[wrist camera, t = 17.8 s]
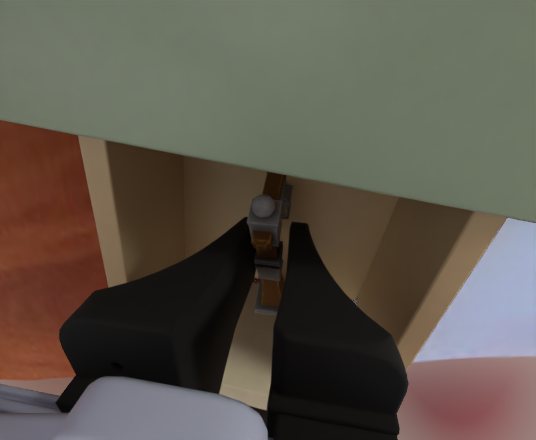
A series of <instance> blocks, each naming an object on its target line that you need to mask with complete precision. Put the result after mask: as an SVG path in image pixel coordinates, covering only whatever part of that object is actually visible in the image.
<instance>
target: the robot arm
mask: <svg viewBox="0 0 536 440" xmlns="http://www.w3.org/2000/svg"><path fill="white" fill-rule="evenodd" d="M247 219H248V217H244V218H243V219H241V220H240V221H239V222H238V223H236V224H235V225H234V226H233V227H232V228H230V229H229V230H228V231H227V232H225V233H224V234H223V235H221V236H220V237H219V238H218V239H216V240H215V241H213V242H212V243H210V244H209V245H208V246H206V247H205V248H203V249H202V250H200V251H198V252H197V253H195V254H193V255H192V256H190V257H188V258H186V259H184V260H182V261H180V262H178V263H176V264H174V265H172V266H169V267H167V268H165V269H163V270H161V271H158V272H156V273H153V274H151V275H148V276H145V277H142V278H139V279H136V280H133V281H130V282H127V283H124V284H120V285H116V286H112V287H109V288H105V289H101V290H97V291H94V292H93V293H92V294H91V295H90V296H89V297H88V298H87V299H86V300H85V301H84V303H83V304H82V305H81V306H80V307H79V308H78V309H77V310H76V311H75V312H74V313H73V314H72V315H71V316H70V317H69V319H68V320H67V321H66V322H65V323H64V324H63V325H62V327H61V329H60V332H59V339H60V343H61V346H62V349H63V350H64V352H65V354H66V356H67V358H68V360H69V362H70V364H71V366H72V368H73V370H74V371H75V373H76V376H75V377H74V378H73V380H72V381H71V383H70V384H69V385H68V386H67V388H66V389H65V390H64V392H63V393H62V394H61V396H58V395H53V394H47V393H43V392H38V391H33V390H28V389H22V388H18V387H12V386H8V385H3V384H0V440H398V439H397V435H398V434H399V424H398V419H397V412H398V410H399V408H400V405H401V403H402V401H403V399H404V397H405V394H406V392H407V388H408V380H407V374H406V370H405V366H404V363H403V360H402V358H401V355H400V353H399V350H398V348H397V345H396V343H395V341H394V339H393V337H392V335H391V334H390V333H389V332H388V331H386V330H385V329H384V328H382V327H381V326H380V325H379V324H377V323H376V322H375V321H374V320H372V319H371V318H370V317H369V316H367V315H366V314H365V313H364V312H363V311H362V310H361V309H360V308H359V307H358V306H357V305H356V304H355V303H354V302H353V301H352V300H351V299H350V298H349V297H348V296H347V295H346V294H345V293H344V291H343V290H342V289H341V288H340V286H339V285H338V284H337V283H336V281H335V280H334V278H333V277H332V276H331V274H330V273H329V271H328V270H327V268H326V266H325V265H324V263H323V261H322V259H321V257H320V255H319V253H318V251H317V249H316V247H315V245H314V242H313V240H312V237H311V234H310V230H309V225H308V224H307V223H301V222H291V225H290V229H289V243H288V258H287V272H286V278H285V283H284V288H283V292H282V296H281V300H280V305H279V308H278V312H277V316H276V320H275V323H274V326H273V347H272V369H271V384H270V390H269V397H268V403H267V428H266V426H265V424H264V422H263V419H262V417H261V416H260V414H259V413H258V412H256V411H255V410H254V409H252V408H251V407H249V406H248V405H247V404H245V403H244V402H242V401H239V400H236V399H233V398H230V397H227V396H224V395H221V394H219V392H220V388H221V384H222V380H223V375H224V371H225V367H226V363H227V359H228V355H229V351H230V347H231V344H232V340H233V336H234V332H235V329H236V326H237V323H238V320H239V317H240V314H241V312H242V309H243V307H244V304H245V301H246V299H247V296H248V293H249V291H250V288H251V285H252V283H253V280H254V277H255V273H256V269H257V268H256V267H255V263H254V257H255V253H256V249H255V248H254V247H253V244H251V234H250V229H249V226H248V224H247Z"/></svg>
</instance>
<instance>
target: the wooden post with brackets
mask: <svg viewBox="0 0 536 440" xmlns="http://www.w3.org/2000/svg"><path fill="white" fill-rule="evenodd" d="M286 178H287V175H283V174H278V173H273V172H268V171H267V175H266V180H265V184H264V188H263V192H262V195H258V196H257V197H255V198H252V202H251V206H250V211H249V215H248V219H247V224H248V226H249V229H250V234H251V244H253V247H254V248H255V249H256V253H255V257H254V263H255V267H256V268H257V271H258V278H259V279H260V284H259V289H258V293H257V298H256V303H255V308H254V312H255V313H261V314H267V315H274V316H277V312H278V308H279V305H280V300H281V296H282V292H283V288H284V283H285V280H284V278H283V275H282V268H283V262H284V261H283V259H282V254H283V245H284V244H283V241H280V235H281V229H282V221H281V220H283V219H289V213H290V208H291V202H290V201H291V195H292V189H293V185H286V181H287V180H286Z"/></svg>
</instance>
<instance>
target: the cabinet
mask: <svg viewBox="0 0 536 440" xmlns="http://www.w3.org/2000/svg"><path fill="white" fill-rule="evenodd" d="M0 120H2V121H7V122H13V123H18V124H23V125H28V126H34V127H39V128H44V129H49V130H54V131H60V132H65V133H70V134H75V135H80V136H86V137H91V138H96V139H101V140H106V141H112V142H117V143H122V144H127V145H132V146H138V147H143V148H148V149H153V150H158V151H164V152H169V153H174V154H179V155H184V156H190V157H195V158H200V159H205V160H210V161H216V162H221V163H226V164H231V165H236V166H242V167H247V168H252V169H257V170H262V171H268V172H273V173H278V174H283V175H288V176H294V177H299V178H304V179H309V180H314V181H320V182H325V183H330V184H335V185H340V186H346V187H351V188H356V189H361V190H366V191H372V192H377V193H382V194H387V195H392V196H398V197H403V198H408V199H413V200H418V201H424V202H429V203H434V204H439V205H444V206H450V207H455V208H460V209H465V210H470V211H476V212H481V213H486V214H491V215H496V216H502V217H507V218H512V219H517V220H522V221H528V222H533V223H536V0H0Z"/></svg>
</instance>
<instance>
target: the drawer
mask: <svg viewBox="0 0 536 440" xmlns="http://www.w3.org/2000/svg"><path fill="white" fill-rule="evenodd" d="M78 139H79V144H80V149H81V154H82V159H83V164H84V169H85V174H86V179H87V184H88V188H89V193H90V198H91V203H92V208H93V213H94V218H95V223H96V228H97V233H98V238H99V243H100V248H101V252H102V257H103V262H104V267H105V272H106V277H107V282H108V287H112V286H116V285H120V284H124V283H127V282H130V281H133V280H136V279H139V278H142V277H145V276H148V275H151V274H153V273H156V272H158V271H161V270H163V269H165V268H167V267H169V266H172V265H174V264H176V263H178V262H180V261H182V260H184V259H186V258H188V257H190V256H192V255H193V254H195V253H197V252H198V251H200V250H202V249H203V248H205V247H206V246H208V245H209V244H210V243H212V242H213V241H215V240H216V239H218V238H219V237H220V236H221V235H223V234H224V233H225V232H227V231H228V230H229V229H230V228H232V227H233V226H234V225H235V224H236V223H238V222H239V221H240V220H241V219H243V218H244V217H248V215H249V211H250V206H251V202H252V198H255V197H257V196H258V195H262V192H263V188H264V184H265V180H266V175H267V171H262V170H257V169H252V168H247V167H242V166H236V165H231V164H226V163H221V162H216V161H210V160H205V159H200V158H195V157H190V156H184V155H179V154H174V153H169V152H164V151H158V150H153V149H148V148H143V147H138V146H132V145H127V144H122V143H117V142H112V141H106V140H101V139H96V138H91V137H86V136H80V135H78ZM286 180H287V181H286V185H293V189H292V195H291V201H290V202H291V208H290V213H289V219H283V220H281V221H282V229H281V235H280V241H283V244H284V245H283V254H282V259H283V261H284V262H283V268H282V275H283V278H284V280H285V278H286V272H287V258H288V243H289V229H290V225H291V222H301V223H307V224H308V225H309V230H310V234H311V237H312V240H313V242H314V245H315V247H316V249H317V251H318V253H319V255H320V257H321V259H322V261H323V263H324V265H325V266H326V268H327V270H328V271H329V273H330V274H331V276H332V277H333V278H334V280H335V281H336V283H337V284H338V285H339V286H340V288H341V289H342V290H343V291H344V293H345V294H346V295H347V296H348V297H349V298H350V299H354V300H356V301H357V306H358V307H359V308H360V309H361V310H362V311H363V312H364V313H365V314H366V315H367V316H369V317H370V318H371V319H372V320H374V321H375V322H376V323H377V324H379V325H380V326H381V327H382V328H384V329H385V330H386V331H388V332H389V333H390V334H391V335H392V337H393V339H394V341H395V343H396V345H397V348H398V350H399V353H400V355H401V358H402V360H403V363H404V366H405V370H406V371H407V369H408V368H409V366H410V365H411V363H412V362H413V360H414V359H415V357H416V356H417V354H418V353H419V351H420V350H421V348H422V347H423V345H424V344H425V342H426V341H427V339H428V338H429V336H430V334H431V333H432V331H433V330H434V328H435V327H436V325H437V324H438V322H439V321H440V319H441V318H442V316H443V315H444V313H445V312H446V310H447V309H448V307H449V306H450V304H451V303H452V301H453V300H454V298H455V296H456V295H457V293H458V292H459V290H460V289H461V287H462V286H463V284H464V283H465V281H466V280H467V278H468V277H469V275H470V274H471V272H472V271H473V269H474V268H475V266H476V265H477V263H478V262H479V260H480V258H481V257H482V255H483V254H484V252H485V251H486V249H487V248H488V246H489V245H490V243H491V242H492V240H493V239H494V237H495V236H496V234H497V233H498V231H499V230H500V228H501V227H502V225H503V224H504V222H505V221H506V219H507V217H502V216H496V215H491V214H486V213H481V212H476V211H470V210H465V209H460V208H455V207H450V206H444V205H439V204H434V203H429V202H424V201H418V200H413V199H408V198H403V197H398V196H392V195H387V194H382V193H377V192H372V191H366V190H361V189H356V188H351V187H346V186H340V185H335V184H330V183H325V182H320V181H314V180H309V179H304V178H299V177H294V176H288V175H287V178H286ZM254 278H258V271H257V269H256V273H255V277H254ZM258 279H259V278H258ZM259 284H260V283H255V282H253V283H252V285H251V288H250V291H249V293H248V296H247V299H246V301H245V304H244V307H243V309H242V312H241V314H240V317H239V320H238V323H237V326H236V329H235V332H234V336H233V340H232V344H231V347H230V351H229V355H228V359H227V363H226V367H225V371H224V375H223V380H222V384H221V388H220V392H219V394H221V395H224V396H227V397H230V398H233V399H236V400H239V401H242V402H244V403H245V404H247V405H248V406H249V407H251V408H252V409H254V410H255V411H256V412H258V413H259V414H260V416H261V417H262V419H263V422H264V424H265V426H266V428H267V403H268V397H269V390H270V384H271V369H272V347H273V326H274V323H275V320H276V316H274V315H267V314H261V313H255V312H254V308H255V303H256V298H257V293H258V289H259Z"/></svg>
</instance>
